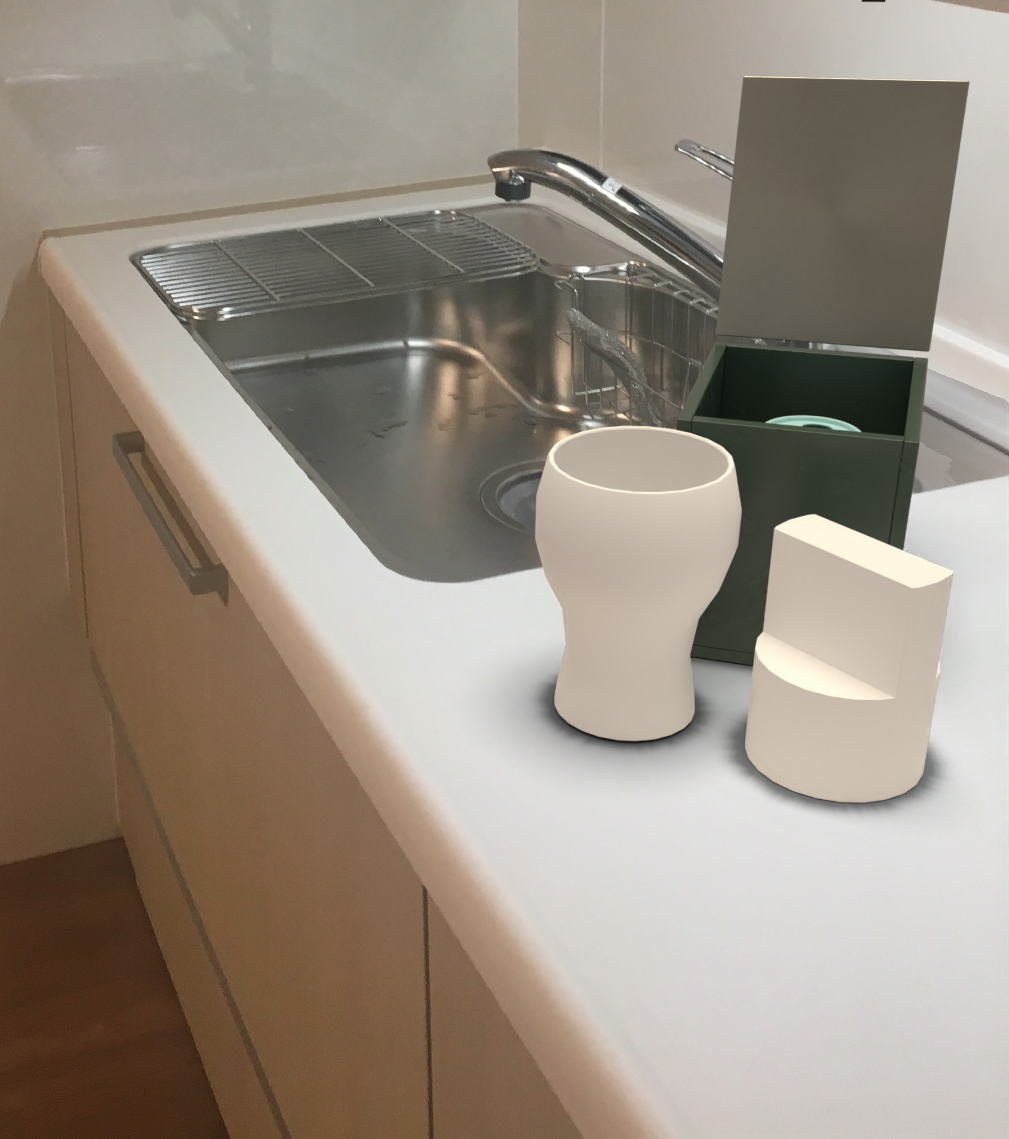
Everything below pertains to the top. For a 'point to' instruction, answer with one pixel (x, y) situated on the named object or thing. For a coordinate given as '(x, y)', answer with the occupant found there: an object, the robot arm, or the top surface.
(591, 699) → the cup
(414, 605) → the top surface
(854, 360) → the bin
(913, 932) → the top surface
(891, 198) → the bin lid
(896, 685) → the base with upright slab
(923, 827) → the top surface
